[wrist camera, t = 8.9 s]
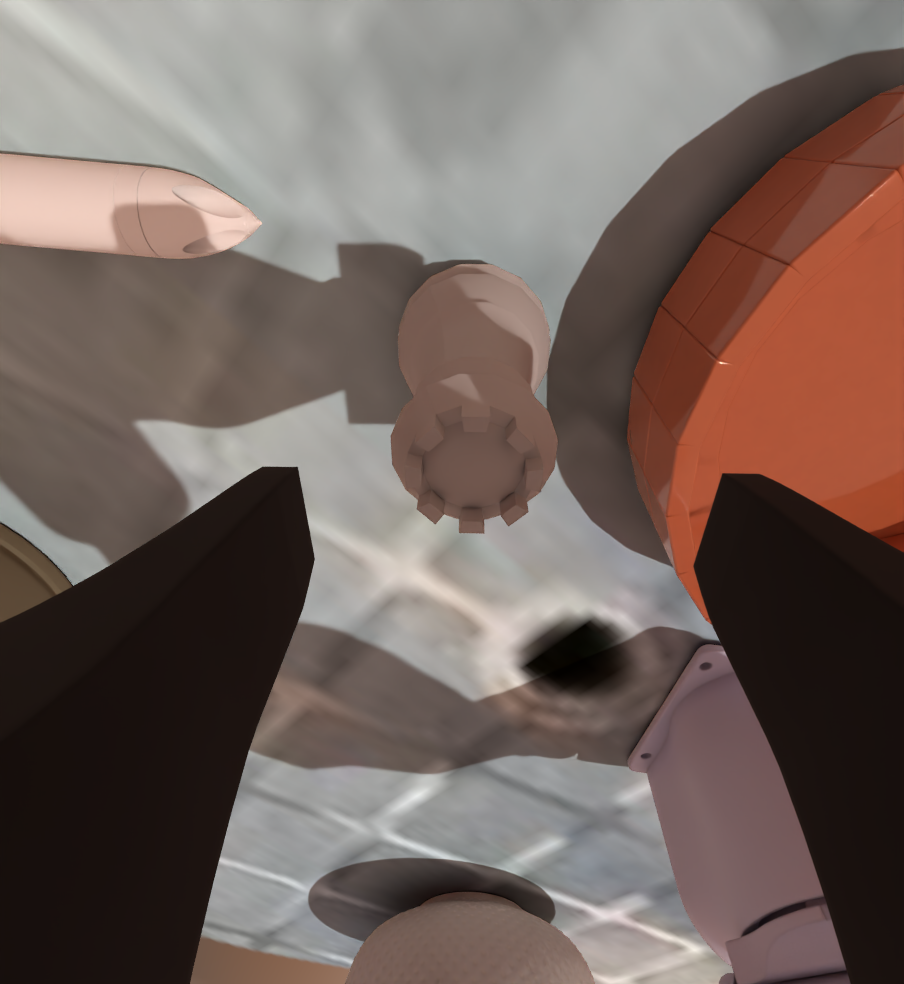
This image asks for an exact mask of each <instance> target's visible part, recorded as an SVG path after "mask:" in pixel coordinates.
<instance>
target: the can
mask: <svg viewBox="0 0 904 984" xmlns="http://www.w3.org/2000/svg"><path fill="white" fill-rule="evenodd" d="M71 587H72V585H71V584H70V583H69V581H68V580H67V579H66V578H65V576H64V575H63V574H62V573H61V572H60V571H59V569H58V568H57V567H56V566H55V565H54V564H53V563H52V562H51V561H50V560H49V559H48V558H47V557H45V556H44V555H43V554H42V553H41V552H40V551H39V550H37V549H36V548H35V547H34V546H33V545H31V544H30V543H28V542H27V541H26V540H24V539H23V538H22V537H20V536H19V535H17V534H16V533H14V532H13V531H11V530H10V529H8V528H7V527H5V526H3V525H2V524H0V622H3V621H5V620H7V619H9V618H11V617H14V616H16V615H18V614H20V613H22V612H24V611H26V610H28V609H30V608H32V607H34V606H36V605H38V604H40V603H42V602H44V601H46V600H48V599H49V598H51V597H53V596H55V595H57V594H59V593H61V592H63V591H65V590H67V589H69V588H71Z"/></svg>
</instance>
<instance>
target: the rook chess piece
mask: <svg viewBox="0 0 904 984" xmlns="http://www.w3.org/2000/svg"><path fill="white" fill-rule="evenodd" d="M549 331H550V330H549V326H548V323H547V320H546V316H545V313H544V310H543V307H542V303H541V301H540V300H539V299H538V297H537V296H536V295H535V294H534V293H533V292H532V290H531V289H530V288H529V287H528V286H527V285H526V284H525V282H524V281H523V280H522V279H521V278H520V277H518V276H516V275H513V274H511V273H509V272H507V271H505V270H503V269H500V268H498V267H496V266H494V265H489V264H459V265H457V266H454V267H452V268H449V269H447V270H445V271H442V272H440V273H438V274H435V275H433V276H431V277H430V278H429V279H428V280H427V281H426V282H425V283H424V284H423V285H422V286H421V287H420V288H419V289H418V290H417V291H416V292H415V293H414V294H413V295H412V297H411V298H410V299H409V301H408V304H407V306H406V309H405V312H404V314H403V317H402V320H401V322H400V325H399V335H398V354H399V367H400V369H401V371H402V373H403V376H404V378H405V380H406V382H407V384H408V386H409V388H410V390H411V392H412V394H413V396H414V397H413V399H412V400H411V401H409V402H408V403H407V404H406V405H405V406H404V407H403V408H402V410H401V412H400V415H399V417H398V420H397V422H396V425H395V427H394V429H393V432H392V434H391V450H392V465H393V467H394V469H395V471H396V472H397V474H398V476H399V478H400V480H401V482H402V484H403V486H404V487H405V489H406V490H407V491H408V492H409V493H410V494H411V495H413V496H414V497H415V498H416V499H417V500H418V504H417V510H418V511H420V512H421V513H422V514H423V515H425V516H426V517H427V518H428V519H429V520H431V521H432V522H433V523H434V524H436V523H437V522H438V521H439V520H440V518H441V517H442V516H443V515H444V514H445V515H448V516H451V517H453V518H456V519H459V533H484V519H489V518H492V517H496V516H499V515H501V517H502V518H503V520H504V521H505V522H506V524H507V525H508V526H510V525H511V524H513V523H514V522H515V521H517V520H518V519H519V518H521V517H522V516H524V515H525V514H526V513H528V506H527V502H528V501H529V500H530V499H532V498H533V497H534V496H536V495H537V494H539V492H541V489H542V488H543V486H544V484H545V483H546V481H547V480H548V478H549V476H550V475H551V473H552V472H553V470H554V467H555V460H556V452H557V444H558V438H557V436H556V433H555V430H554V427H553V424H552V421H551V418H550V415H549V412H548V411H547V410H546V409H545V407H544V406H543V405H542V404H541V403H540V402H539V401H538V400H537V399H536V398H535V397H534V393H535V391H536V390H537V388H538V386H539V384H540V382H541V381H542V379H543V377H544V375H545V373H546V371H547V369H548V360H549V351H550V342H551V339H550V336H549Z"/></svg>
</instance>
